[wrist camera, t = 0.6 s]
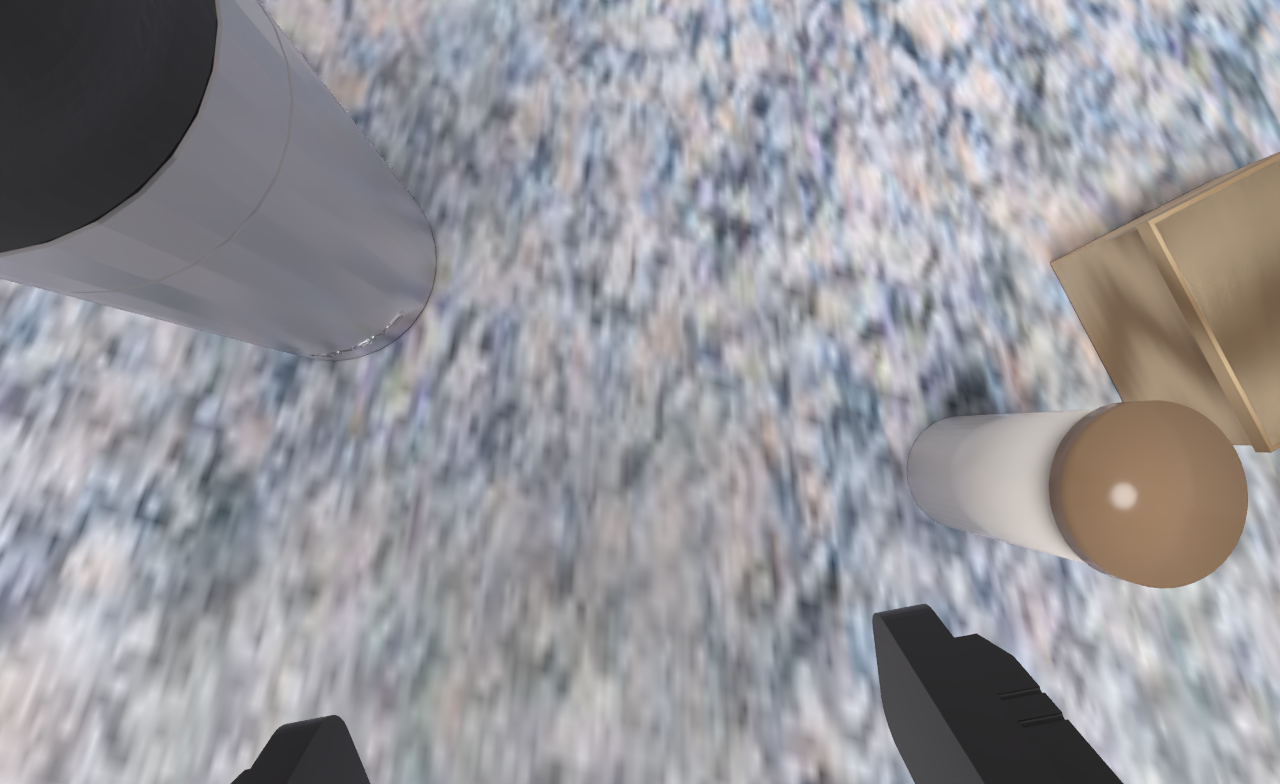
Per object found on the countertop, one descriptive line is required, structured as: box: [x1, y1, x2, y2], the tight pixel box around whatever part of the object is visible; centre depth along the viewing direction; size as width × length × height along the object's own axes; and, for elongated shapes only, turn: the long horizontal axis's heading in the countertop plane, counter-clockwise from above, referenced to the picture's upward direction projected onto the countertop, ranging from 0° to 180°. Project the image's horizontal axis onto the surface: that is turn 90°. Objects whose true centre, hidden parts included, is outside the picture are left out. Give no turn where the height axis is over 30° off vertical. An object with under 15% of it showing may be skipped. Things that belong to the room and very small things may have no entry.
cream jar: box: [907, 400, 1248, 588], centre depth 26 cm, size 6×6×11 cm
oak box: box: [1051, 152, 1280, 453], centre depth 29 cm, size 10×10×6 cm
